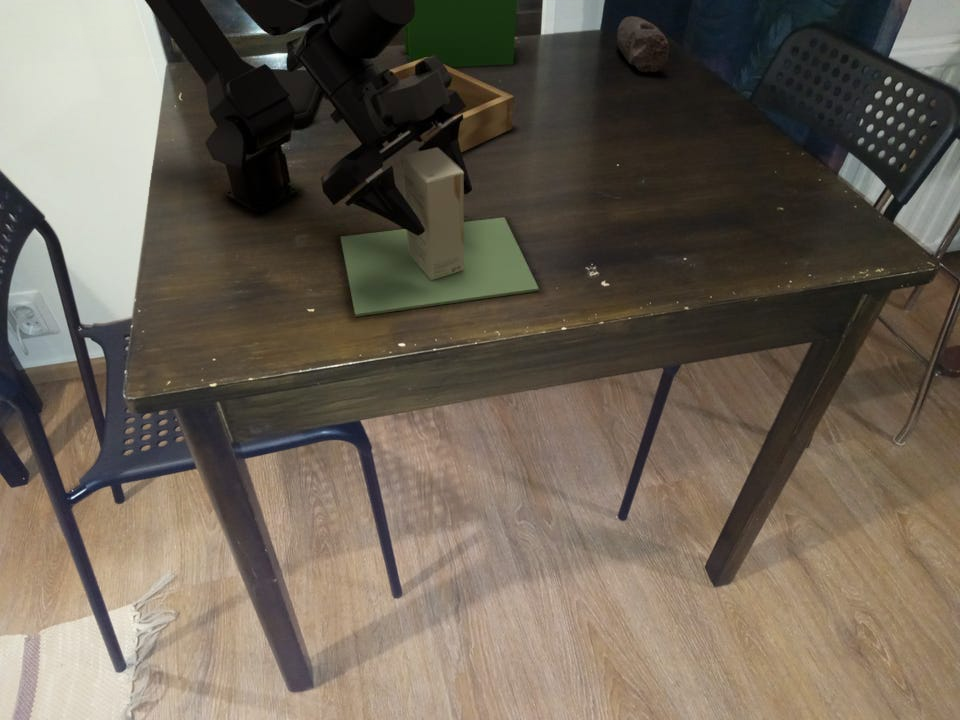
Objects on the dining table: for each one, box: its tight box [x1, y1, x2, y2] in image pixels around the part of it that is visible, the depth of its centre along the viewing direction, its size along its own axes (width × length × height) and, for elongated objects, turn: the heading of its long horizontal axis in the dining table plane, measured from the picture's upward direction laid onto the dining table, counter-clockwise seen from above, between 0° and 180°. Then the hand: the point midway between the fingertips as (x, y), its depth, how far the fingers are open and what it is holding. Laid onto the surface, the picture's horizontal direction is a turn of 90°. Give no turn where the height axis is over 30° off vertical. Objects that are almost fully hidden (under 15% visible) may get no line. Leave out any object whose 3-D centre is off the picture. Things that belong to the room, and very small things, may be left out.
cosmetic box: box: [401, 148, 465, 280], centre depth 74 cm, size 6×4×12 cm
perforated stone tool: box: [616, 15, 670, 73], centre depth 118 cm, size 15×5×7 cm, turn 12°
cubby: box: [389, 57, 515, 154], centre depth 102 cm, size 11×18×5 cm, turn 45°
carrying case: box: [271, 68, 322, 126], centre depth 104 cm, size 11×3×15 cm
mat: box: [340, 216, 540, 318], centre depth 79 cm, size 20×14×1 cm
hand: (446, 212), depth 73 cm, fingers open, 9 cm apart
